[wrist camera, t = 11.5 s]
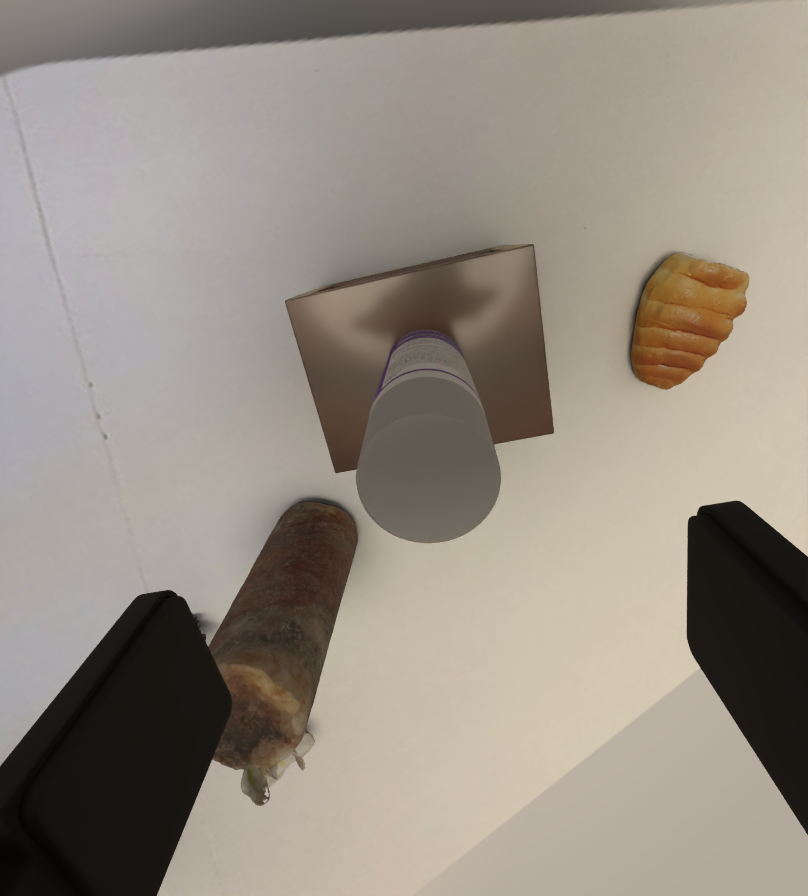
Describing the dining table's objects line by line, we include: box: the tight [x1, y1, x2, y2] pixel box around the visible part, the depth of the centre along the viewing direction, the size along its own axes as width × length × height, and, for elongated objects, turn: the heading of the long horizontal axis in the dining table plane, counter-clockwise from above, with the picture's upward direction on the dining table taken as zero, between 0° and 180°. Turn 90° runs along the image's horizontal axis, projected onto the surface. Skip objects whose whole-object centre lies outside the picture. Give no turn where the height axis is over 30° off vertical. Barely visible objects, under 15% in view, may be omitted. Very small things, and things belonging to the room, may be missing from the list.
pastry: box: [631, 252, 749, 390], centre depth 35 cm, size 9×7×4 cm
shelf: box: [285, 244, 554, 473], centre depth 33 cm, size 11×14×10 cm
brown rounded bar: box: [208, 502, 358, 770], centre depth 36 cm, size 8×7×20 cm
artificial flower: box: [194, 618, 314, 806], centre depth 50 cm, size 9×22×10 cm, turn 23°
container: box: [356, 330, 501, 543], centre depth 22 cm, size 5×5×15 cm
